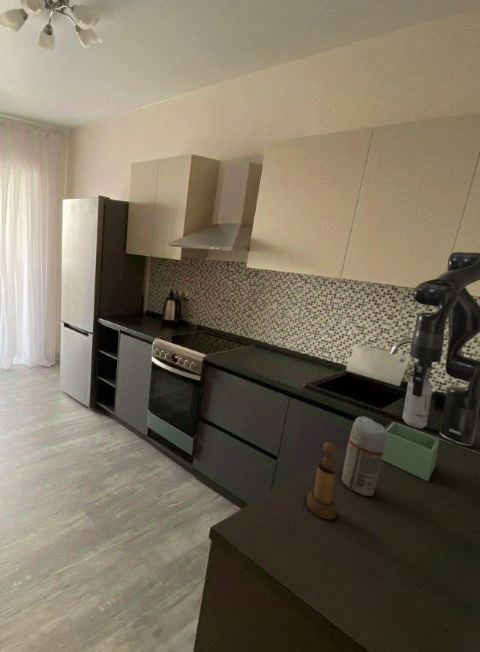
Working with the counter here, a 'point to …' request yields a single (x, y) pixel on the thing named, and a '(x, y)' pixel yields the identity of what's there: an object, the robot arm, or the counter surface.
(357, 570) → the counter surface
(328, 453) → the mortar and pestle
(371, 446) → the spray can
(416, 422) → the energy drink can
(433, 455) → the waste bin
